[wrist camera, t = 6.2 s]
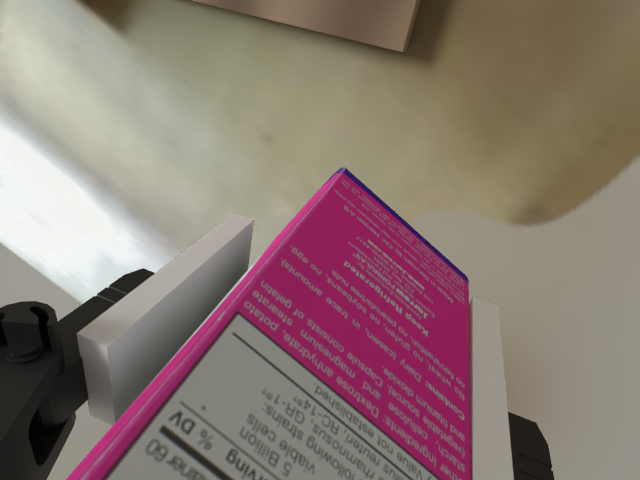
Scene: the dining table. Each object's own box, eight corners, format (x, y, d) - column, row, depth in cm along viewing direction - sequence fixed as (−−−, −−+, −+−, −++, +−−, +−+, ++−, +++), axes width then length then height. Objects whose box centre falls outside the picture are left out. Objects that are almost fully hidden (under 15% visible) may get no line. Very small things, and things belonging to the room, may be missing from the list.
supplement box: (366, 359, 16) (210, 831, 7) (255, 263, 16) (-75, 615, 6) (479, 280, 13) (492, 954, 4) (345, 158, 13) (-40, 540, 3)
